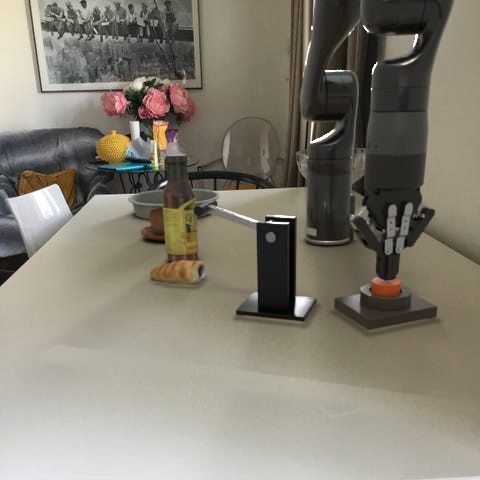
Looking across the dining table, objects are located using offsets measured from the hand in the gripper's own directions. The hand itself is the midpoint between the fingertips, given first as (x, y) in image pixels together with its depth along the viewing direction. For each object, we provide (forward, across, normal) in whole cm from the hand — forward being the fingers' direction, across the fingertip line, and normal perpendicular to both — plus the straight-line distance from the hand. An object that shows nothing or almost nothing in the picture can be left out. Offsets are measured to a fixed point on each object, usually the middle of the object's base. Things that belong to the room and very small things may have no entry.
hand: (386, 278), depth 78 cm
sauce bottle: (+6, -18, +41) cm, 45 cm away
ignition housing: (+6, 0, 0) cm, 6 cm away
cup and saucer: (+6, -16, +60) cm, 62 cm away
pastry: (+6, -22, +28) cm, 36 cm away
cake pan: (+6, -7, +87) cm, 88 cm away
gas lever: (-7, -17, +12) cm, 22 cm away
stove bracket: (+6, -13, +8) cm, 16 cm away
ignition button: (+2, 0, 0) cm, 2 cm away
